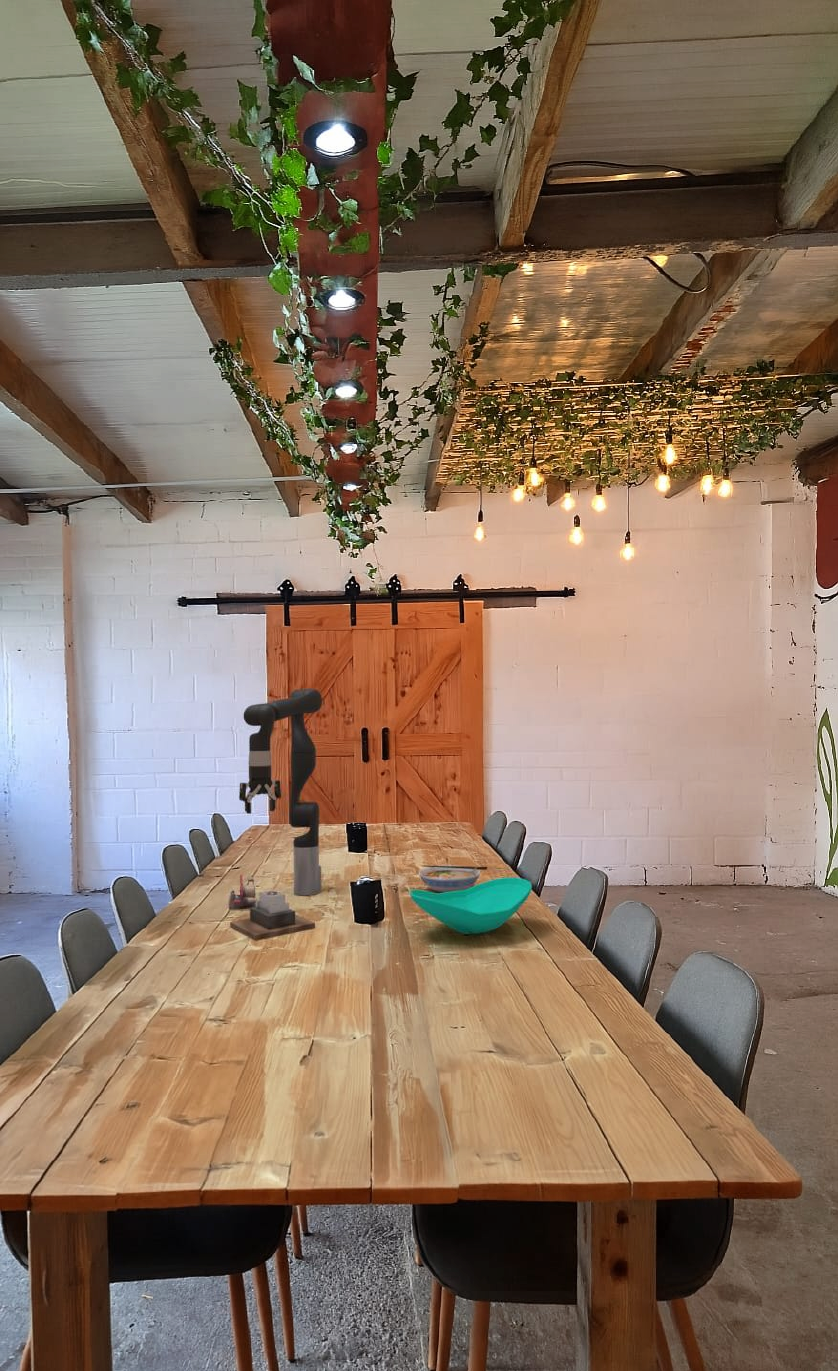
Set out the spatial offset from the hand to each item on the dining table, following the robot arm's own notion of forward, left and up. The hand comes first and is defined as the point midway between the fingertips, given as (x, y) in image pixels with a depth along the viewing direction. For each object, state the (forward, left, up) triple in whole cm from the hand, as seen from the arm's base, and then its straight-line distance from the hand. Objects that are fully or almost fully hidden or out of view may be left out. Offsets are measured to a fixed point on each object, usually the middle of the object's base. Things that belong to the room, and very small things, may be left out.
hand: (260, 812), depth 262 cm
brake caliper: (+2, -9, -33) cm, 35 cm away
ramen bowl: (-65, +21, -33) cm, 76 cm away
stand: (+6, +20, -33) cm, 39 cm away
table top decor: (-39, +63, -33) cm, 81 cm away
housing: (+6, +20, -28) cm, 35 cm away
